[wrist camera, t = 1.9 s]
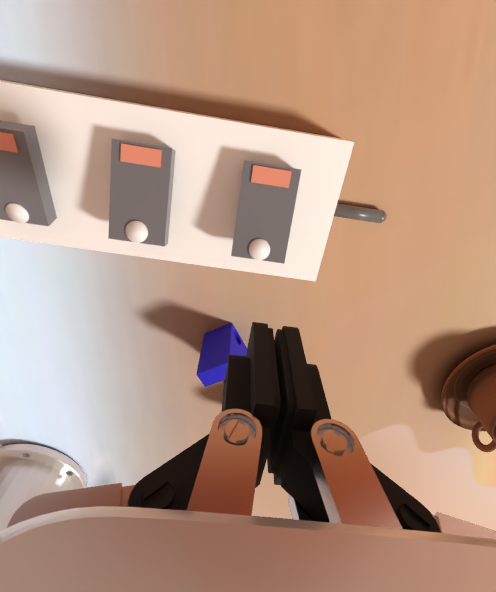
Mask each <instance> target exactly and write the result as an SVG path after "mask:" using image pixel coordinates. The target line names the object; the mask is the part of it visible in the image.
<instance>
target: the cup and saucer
mask: <svg viewBox="0 0 496 592" xmlns="http://www.w3.org/2000/svg"><path fill="white" fill-rule="evenodd" d="M441 403H442V407H443V410H444V412H445V414H446V416H447V417H448V418H449V419H450V420H451V421H452V422H453V423H455V424H456V425H458V426H460V427H463V428H465V429H469V430H472V439H473V442H474V444H475V445H476V447H477V448H478V449H480V450H481V451H484V452H491V451H493V450H495V449H496V345H492V346H489V347H487V348H484V349H482V350H480V351H478V352H476V353H474V354H472V355H471V356H469V357H468V358H466V359H465V360H464V361H462V362H461V363H460V364H459V365H458V366H457V367H456V368H455V369H454V370H453V371H452V373H451V374H450V375H449V377H448V379H447V380H446V382H445V384H444V386H443V389H442V394H441ZM479 431H487V432H488V434H489V435H490V436H491V438H492V439H493V440H492V442H491V443H490V444H488V445H483V444H482V443H481V442H480V440H479Z"/></svg>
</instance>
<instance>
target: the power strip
mask: <svg viewBox="0 0 496 592" xmlns="http://www.w3.org/2000/svg"><path fill="white" fill-rule="evenodd" d="M0 120H1V121H7V122H13V123H19V124H26V125H32V126H35V129H36V133H37V138H38V142H39V146H40V150H41V154H42V158H43V162H44V167H45V171H46V175H47V179H48V183H49V187H50V191H51V195H52V200H53V204H54V208H55V212H56V216H57V218H56V219H55V220H54V221H53V222H52V224H51V225H50V226H43V225H36V224H29V223H17V222H15V221H8V220H1V219H0V237H3V238H10V239H17V240H25V241H32V242H39V243H46V244H53V245H60V246H67V247H75V248H82V249H89V250H96V251H103V252H110V253H117V254H125V255H132V256H139V257H146V258H153V259H160V260H167V261H175V262H182V263H189V264H196V265H203V266H210V267H218V268H225V269H232V270H239V271H246V272H253V273H260V274H268V275H275V276H282V277H289V278H296V279H303V280H310V281H316V278H317V274H318V271H319V267H320V264H321V260H322V256H323V253H324V249H325V246H326V242H327V238H328V235H329V231H330V228H331V224H332V220H333V217H334V216H337V217H343V218H350V219H356V220H363V221H369V222H376V223H381V222H383V221H385V219H386V213H385V212H384V211H383V210H377V209H371V208H364V207H358V206H352V205H345V204H339V203H337V202H338V199H339V195H340V192H341V188H342V184H343V181H344V177H345V174H346V170H347V166H348V163H349V159H350V155H351V152H352V148H353V145H354V142H351V141H348V140H345V139H342V138H336V137H330V136H324V135H319V134H313V133H307V132H301V131H295V130H290V129H284V128H278V127H272V126H266V125H260V124H255V123H249V122H243V121H237V120H231V119H226V118H220V117H214V116H208V115H202V114H197V113H191V112H185V111H179V110H173V109H167V108H162V107H156V106H150V105H144V104H138V103H133V102H127V101H121V100H115V99H109V98H103V97H98V96H92V95H86V94H80V93H74V92H69V91H63V90H57V89H51V88H45V87H40V86H34V85H28V84H22V83H16V82H10V81H5V80H0ZM112 139H118V140H124V141H130V142H137V143H143V144H149V145H155V146H161V147H167V148H172V149H174V150H175V151H176V152H175V164H174V177H173V189H172V201H171V213H170V225H169V237H168V244H167V245H166V246H157V245H150V244H143V243H135V242H129V241H122V240H115V239H108V235H109V203H110V172H111V141H112ZM244 160H246V161H253V162H259V163H265V164H271V165H277V166H283V167H289V168H295V169H301V175H300V180H299V186H298V191H297V197H296V202H295V208H294V213H293V219H292V224H291V230H290V235H289V240H288V246H287V251H286V257H285V262H284V264H283V263H276V262H269V261H262V260H255V259H248V258H241V257H234V256H231V252H232V245H233V237H234V230H235V223H236V215H237V208H238V201H239V193H240V186H241V179H242V172H243V164H244Z"/></svg>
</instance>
